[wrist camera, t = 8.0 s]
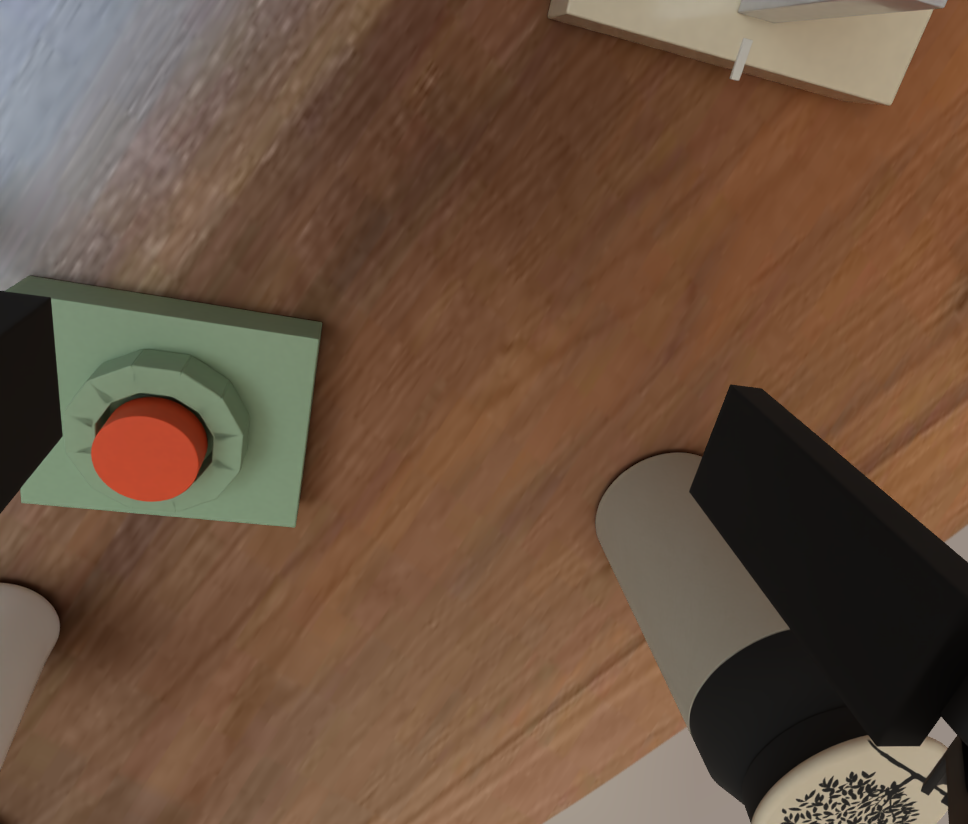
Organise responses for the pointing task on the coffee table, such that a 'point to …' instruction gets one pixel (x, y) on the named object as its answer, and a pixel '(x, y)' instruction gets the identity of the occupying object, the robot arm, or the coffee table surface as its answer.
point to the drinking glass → (22, 653)
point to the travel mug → (748, 668)
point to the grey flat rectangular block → (829, 8)
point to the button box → (181, 398)
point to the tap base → (766, 42)
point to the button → (150, 449)
